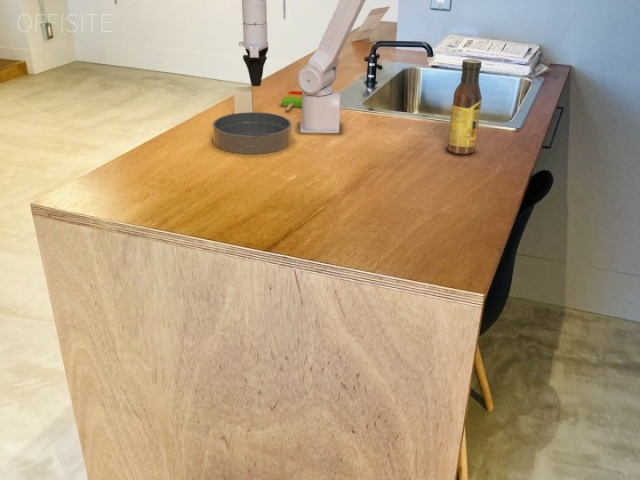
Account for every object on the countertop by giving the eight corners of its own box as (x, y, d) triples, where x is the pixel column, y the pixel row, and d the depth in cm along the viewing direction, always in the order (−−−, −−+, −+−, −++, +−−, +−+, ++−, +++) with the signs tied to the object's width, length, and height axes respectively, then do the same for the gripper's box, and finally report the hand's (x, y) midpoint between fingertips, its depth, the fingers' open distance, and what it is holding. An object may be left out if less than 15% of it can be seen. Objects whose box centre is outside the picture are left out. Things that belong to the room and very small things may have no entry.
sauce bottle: (474, 156, 154) (487, 65, 143) (446, 154, 155) (457, 63, 144) (474, 147, 160) (487, 58, 149) (447, 145, 161) (458, 56, 150)
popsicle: (308, 98, 192) (308, 91, 191) (297, 113, 179) (297, 106, 178) (289, 97, 192) (289, 90, 191) (276, 112, 180) (276, 105, 179)
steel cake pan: (292, 130, 167) (292, 112, 165) (290, 156, 152) (290, 136, 150) (218, 130, 167) (217, 111, 164) (209, 155, 152) (208, 135, 149)
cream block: (254, 119, 175) (252, 87, 170) (252, 124, 171) (251, 91, 167) (236, 118, 175) (235, 86, 170) (235, 124, 171) (233, 91, 167)
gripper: (240, 17, 168) (242, 74, 176) (235, 28, 156) (238, 89, 163) (268, 17, 168) (270, 74, 176) (266, 28, 156) (268, 89, 164)
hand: (256, 81), depth 170 cm, fingers open, 7 cm apart
